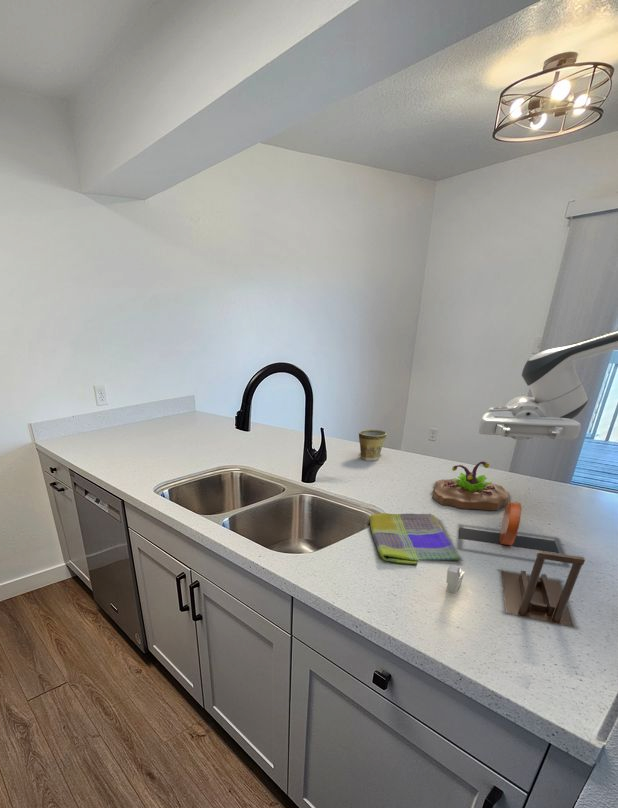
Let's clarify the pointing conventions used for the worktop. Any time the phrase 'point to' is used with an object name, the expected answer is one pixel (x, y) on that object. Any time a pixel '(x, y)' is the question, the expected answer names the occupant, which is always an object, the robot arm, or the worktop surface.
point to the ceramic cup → (371, 444)
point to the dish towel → (411, 538)
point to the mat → (518, 542)
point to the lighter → (454, 579)
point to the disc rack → (541, 591)
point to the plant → (470, 491)
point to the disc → (510, 523)
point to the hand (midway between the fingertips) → (529, 434)
